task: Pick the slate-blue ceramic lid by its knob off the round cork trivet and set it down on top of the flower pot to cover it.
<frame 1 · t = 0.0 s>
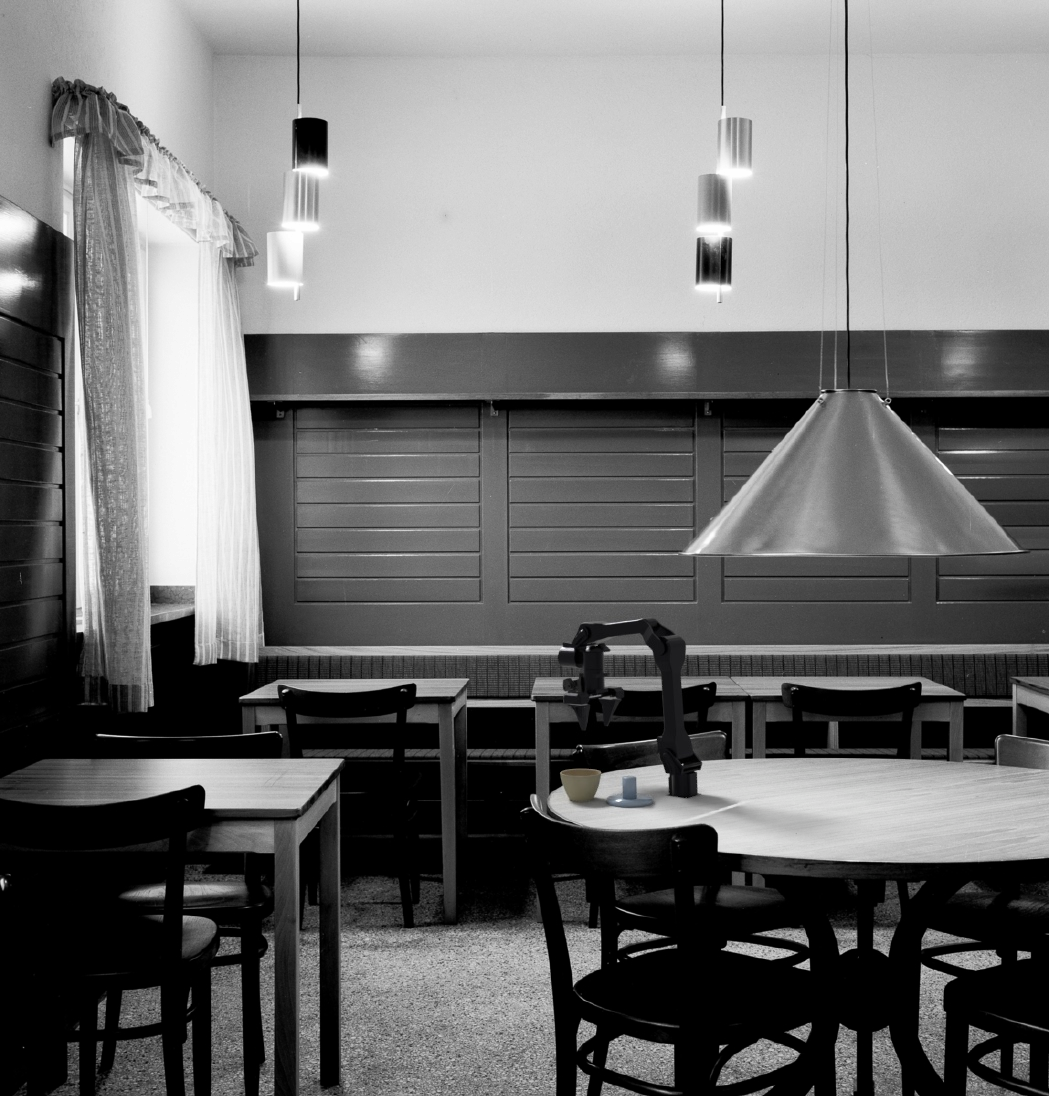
hand: (595, 727, 303), 15 cm above the table, fingers open, 9 cm apart
flower pot: (581, 802, 281), on the table
trivet: (629, 804, 275), on the table
lid: (629, 802, 275), point 1 cm above the table, touching trivet
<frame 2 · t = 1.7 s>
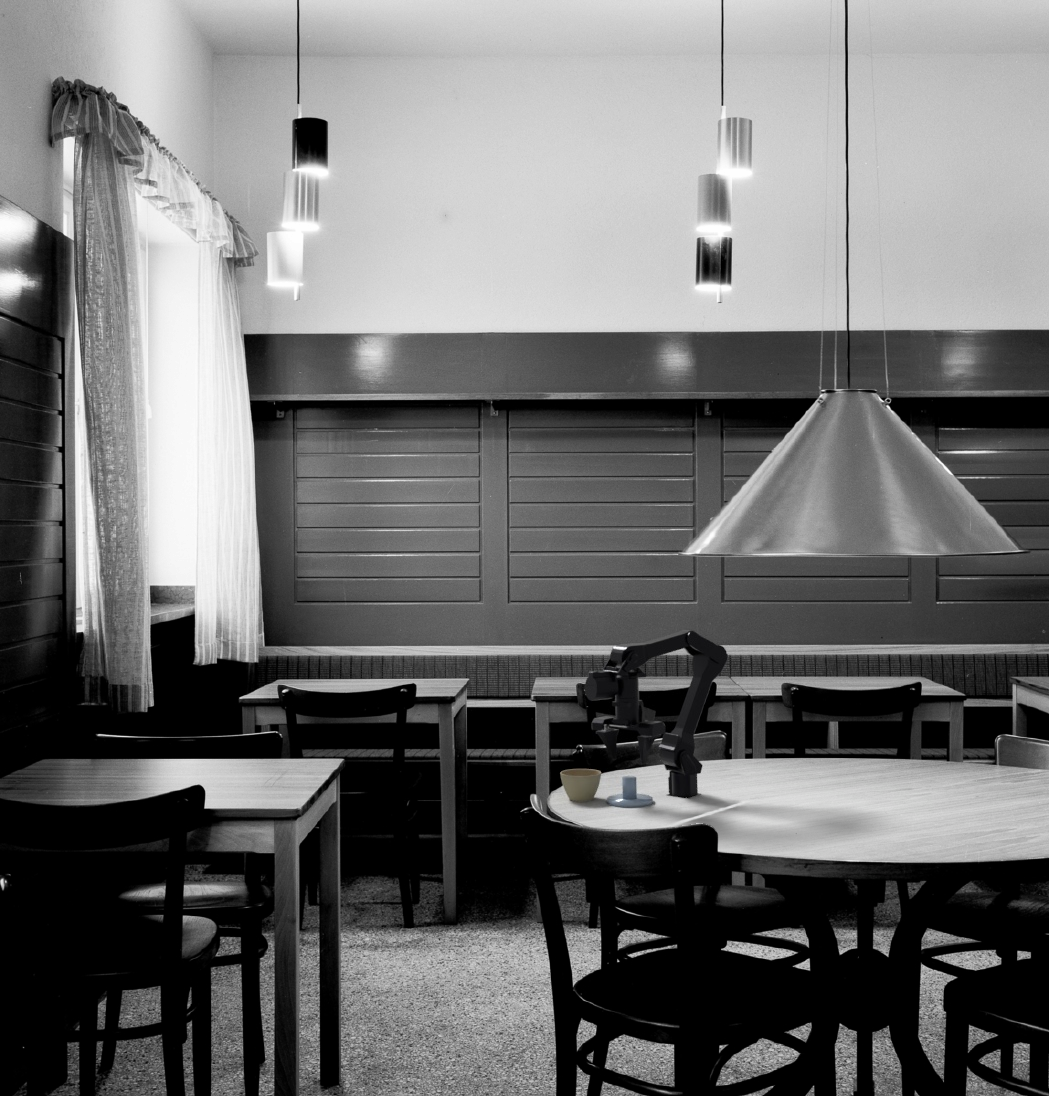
hand: (629, 761, 276), 10 cm above the table, fingers open, 9 cm apart
nothing on the table moved.
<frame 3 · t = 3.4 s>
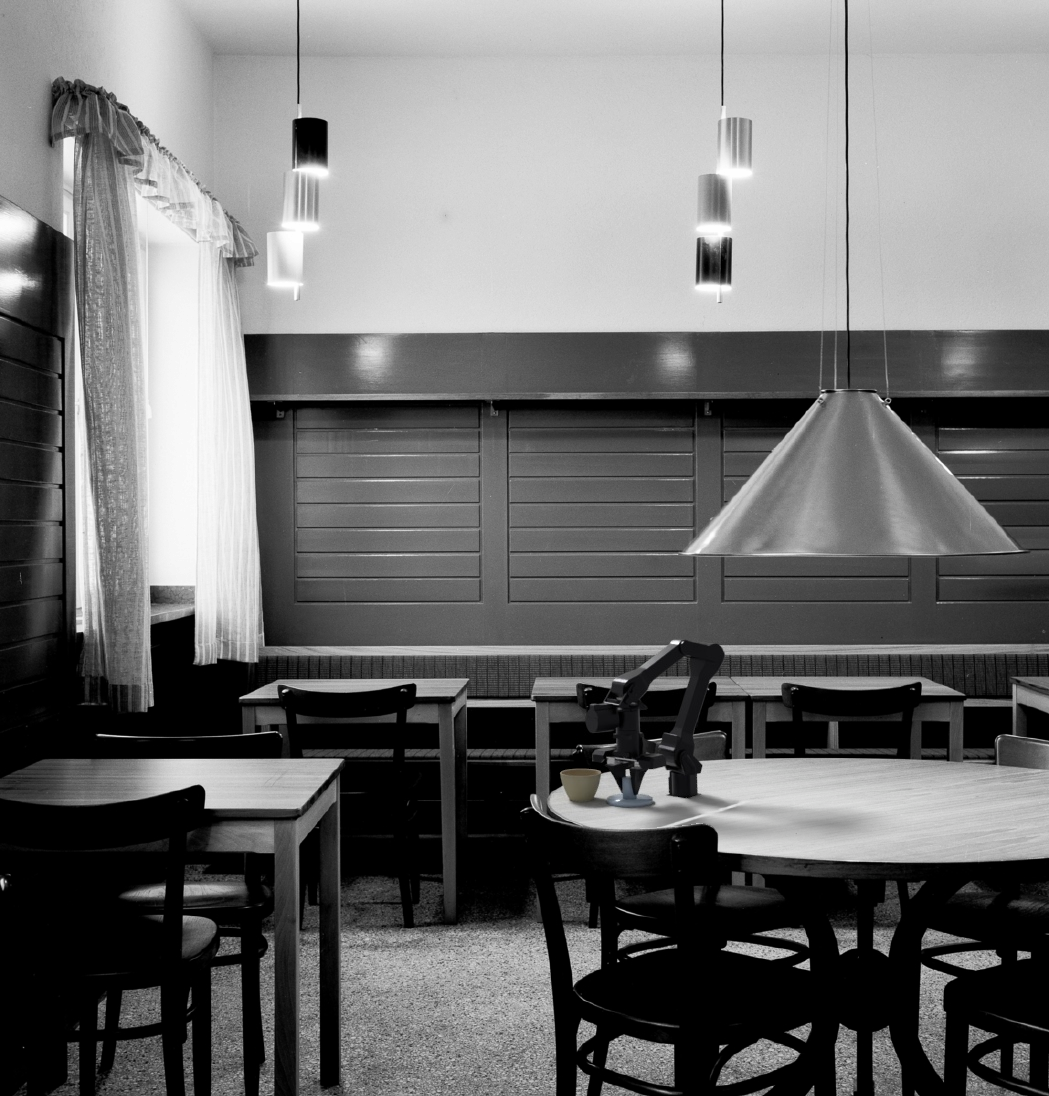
hand: (629, 793, 275), 3 cm above the table, fingers closed on lid, 3 cm apart
lid: (629, 802, 275), point 1 cm above the table, touching gripper, trivet
everything else where it was.
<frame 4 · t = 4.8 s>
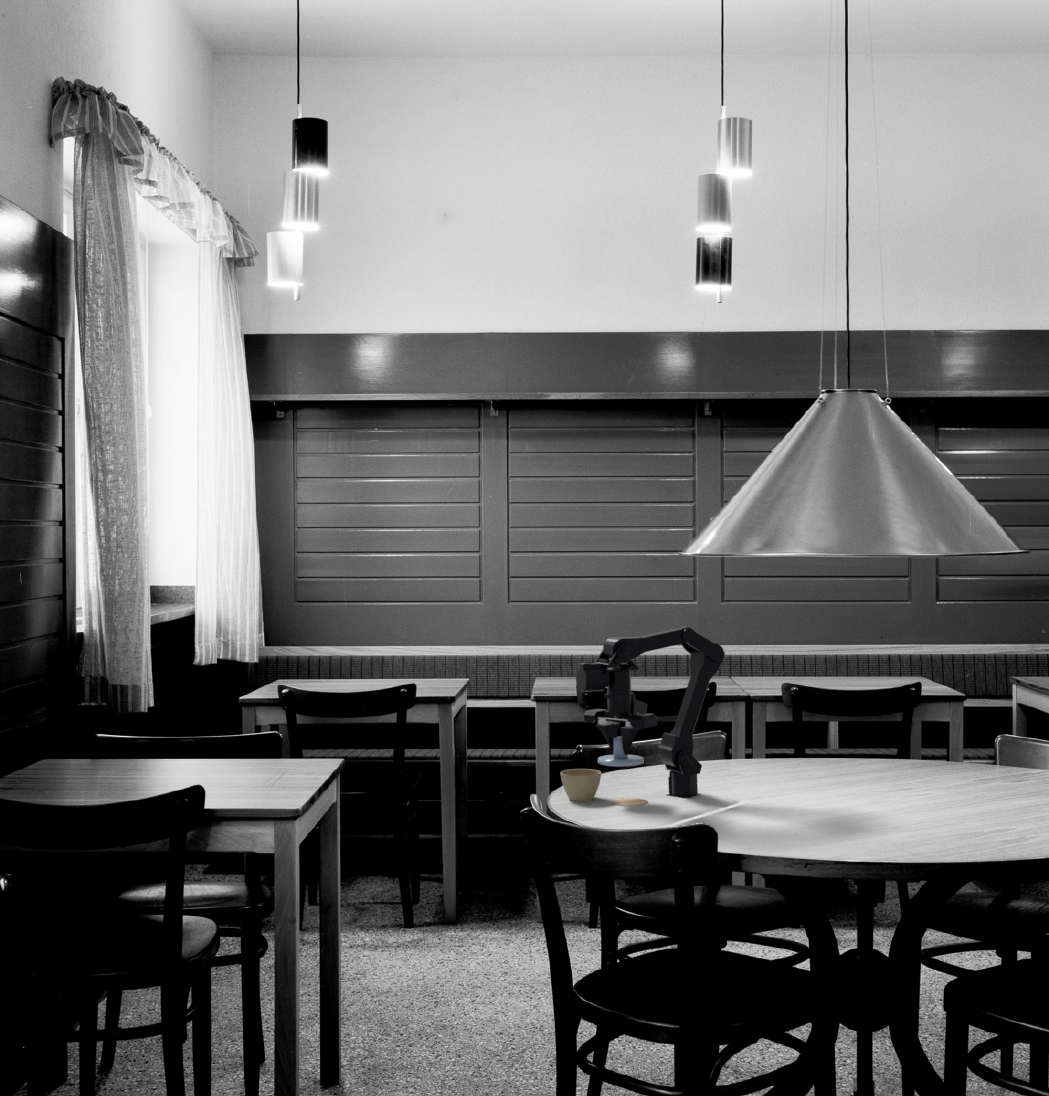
hand: (620, 754, 276), 12 cm above the table, fingers closed on lid, 3 cm apart
lid: (620, 762, 276), point 10 cm above the table, touching gripper
everything else where it was.
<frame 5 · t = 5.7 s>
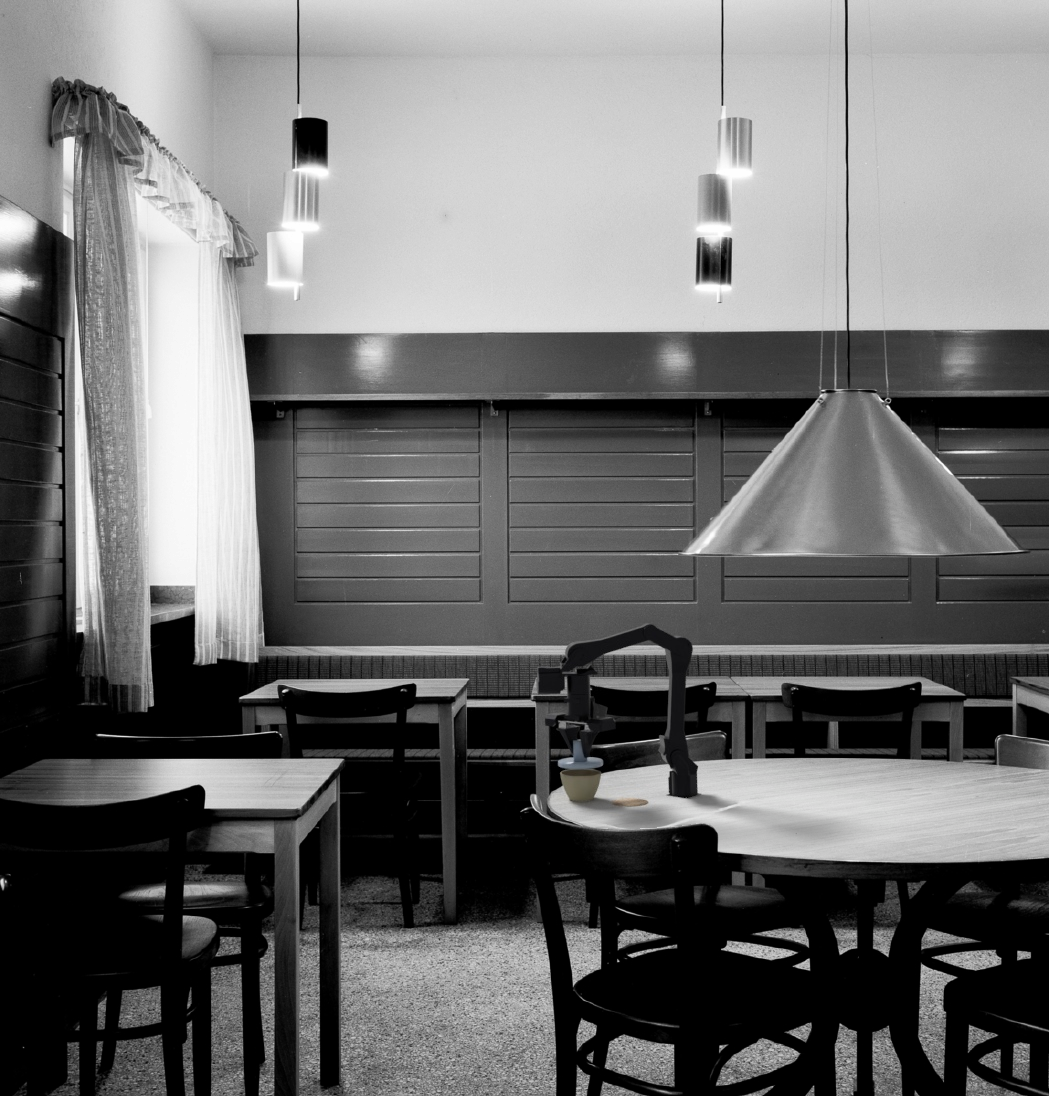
hand: (580, 756, 281), 11 cm above the table, fingers closed on lid, 3 cm apart
lid: (580, 764, 281), point 9 cm above the table, touching gripper
everything else where it was.
when the fingers open (11 cm above the table, at t = 6.4 s): lid drops 2 cm, resting on flower pot.
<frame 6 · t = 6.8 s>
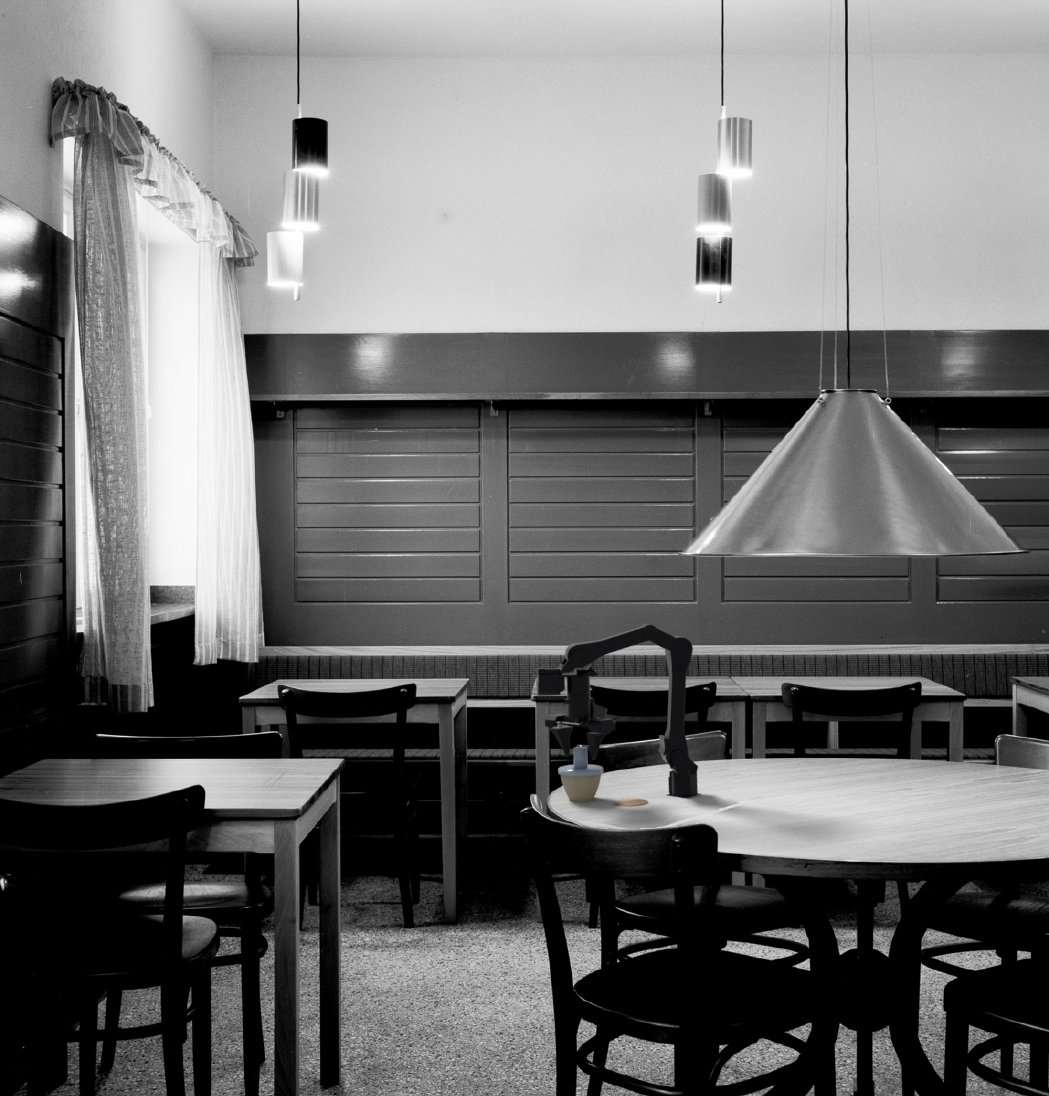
hand: (580, 758, 281), 11 cm above the table, fingers open, 8 cm apart
flower pot: (581, 802, 281), on the table, touching lid
lid: (580, 772, 281), point 7 cm above the table, touching flower pot
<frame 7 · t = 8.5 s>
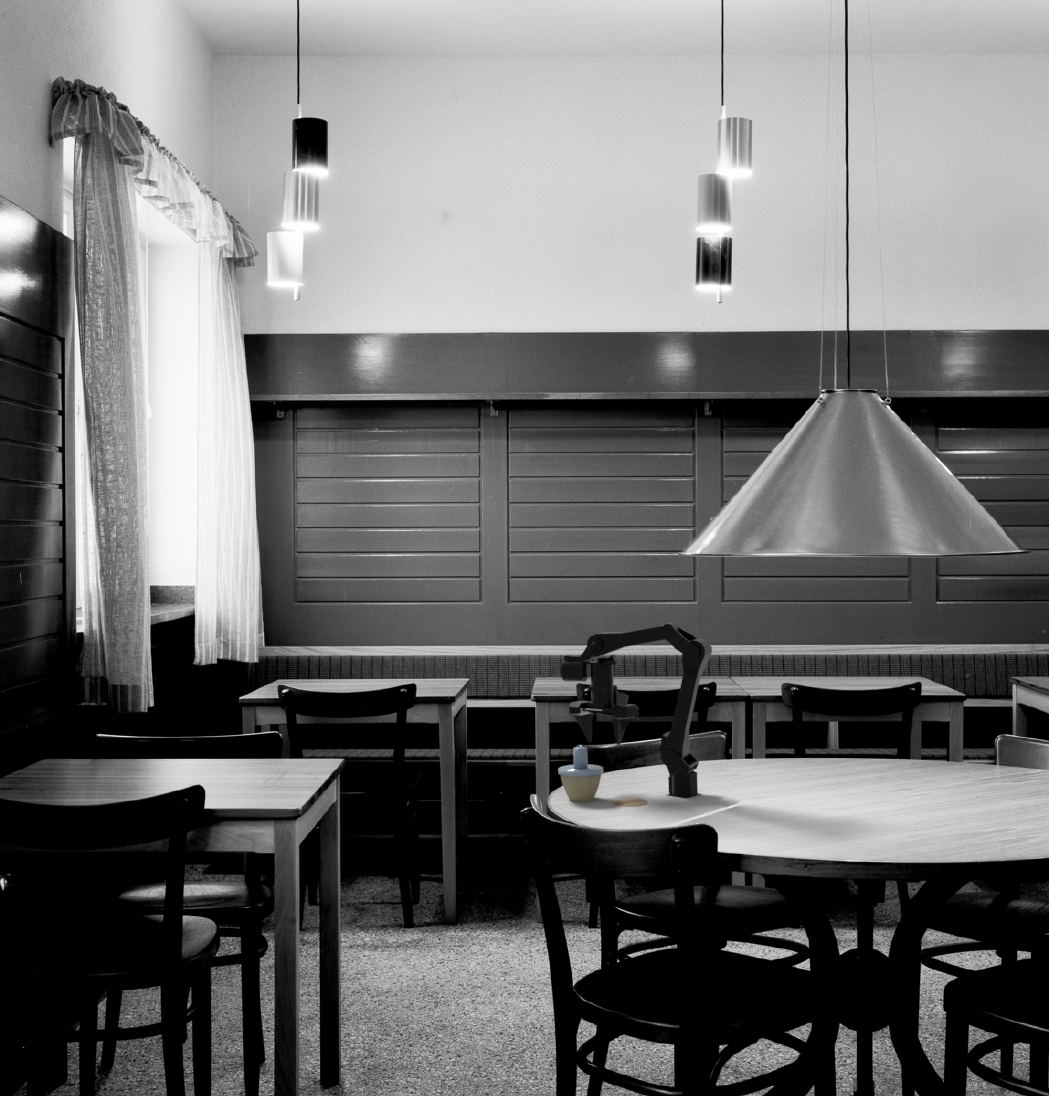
hand: (604, 743, 291), 12 cm above the table, fingers open, 9 cm apart
nothing on the table moved.
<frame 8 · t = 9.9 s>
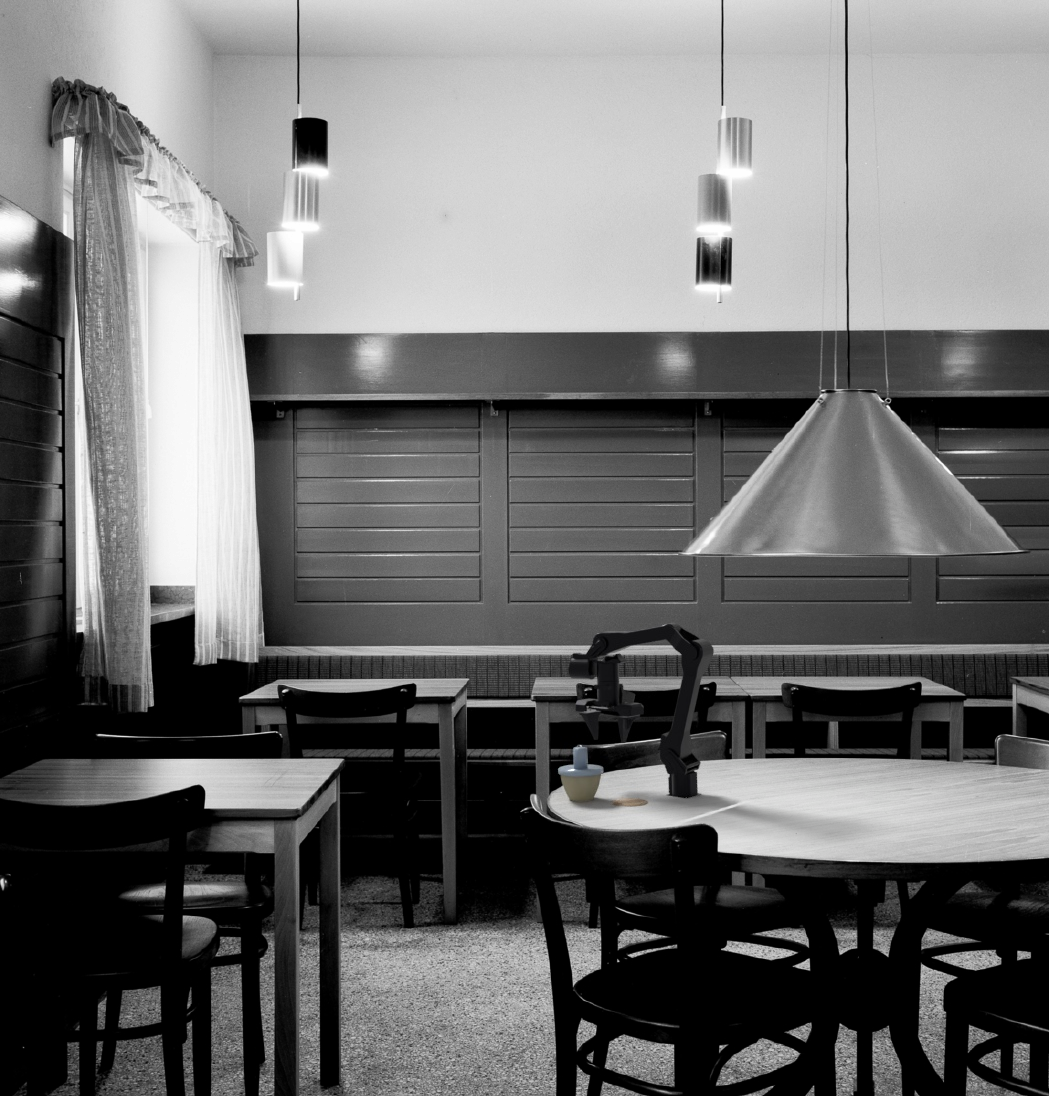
hand: (609, 740, 294), 13 cm above the table, fingers open, 9 cm apart
nothing on the table moved.
at the end: lid inside the target area on the flower pot (0.1 cm from its centre), point 7.3 cm above the flower pot's base; lid tilted 0°; the gripper is holding nothing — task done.
